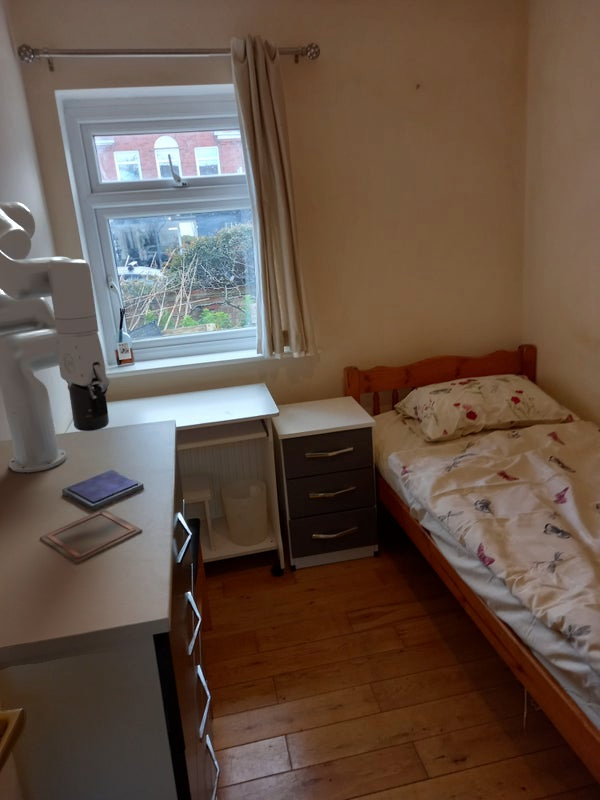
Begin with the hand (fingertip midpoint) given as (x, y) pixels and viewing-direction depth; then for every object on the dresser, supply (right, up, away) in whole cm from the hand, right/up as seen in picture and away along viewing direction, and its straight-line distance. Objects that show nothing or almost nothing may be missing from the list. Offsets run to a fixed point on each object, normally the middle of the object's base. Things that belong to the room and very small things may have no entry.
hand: (89, 411), depth 115 cm
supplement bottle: (0, -3, +1) cm, 3 cm away
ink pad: (+1, -17, +5) cm, 18 cm away
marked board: (+4, -23, -11) cm, 26 cm away
